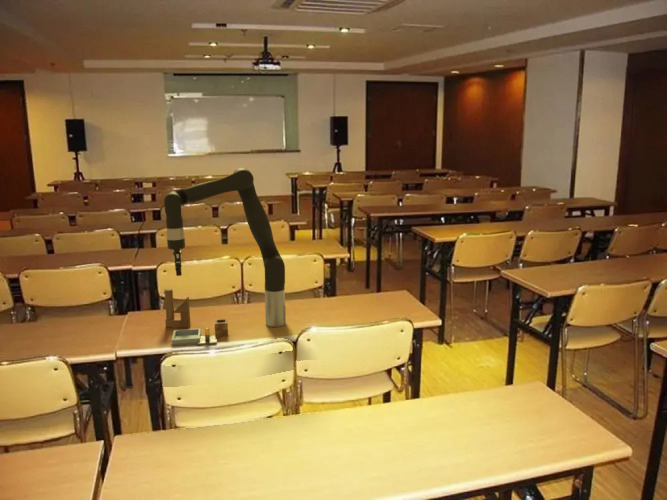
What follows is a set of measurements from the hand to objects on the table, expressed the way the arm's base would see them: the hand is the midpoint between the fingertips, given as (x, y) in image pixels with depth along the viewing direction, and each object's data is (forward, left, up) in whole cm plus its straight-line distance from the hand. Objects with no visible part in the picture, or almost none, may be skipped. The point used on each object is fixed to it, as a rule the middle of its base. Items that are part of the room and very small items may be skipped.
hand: (178, 273), depth 250 cm
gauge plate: (-12, +15, -27) cm, 33 cm away
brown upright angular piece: (+2, -6, -28) cm, 28 cm away
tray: (-3, +11, -27) cm, 30 cm away
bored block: (-18, +7, -27) cm, 33 cm away
